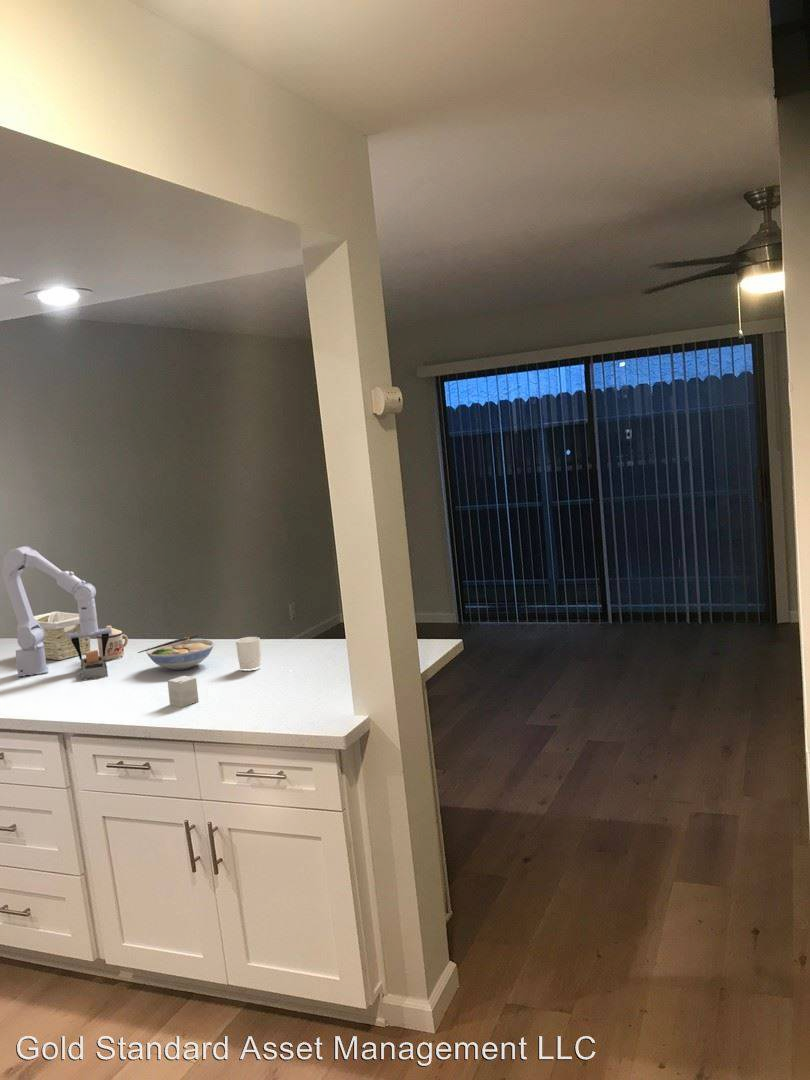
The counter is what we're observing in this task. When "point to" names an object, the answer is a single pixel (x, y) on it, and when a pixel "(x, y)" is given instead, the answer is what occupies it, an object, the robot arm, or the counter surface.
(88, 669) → the grey slotted board
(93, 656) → the orange brown block
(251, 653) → the white cup
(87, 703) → the counter surface
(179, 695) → the skincare box
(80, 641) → the storage basket
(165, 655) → the ramen bowl
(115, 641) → the teacup with lid
